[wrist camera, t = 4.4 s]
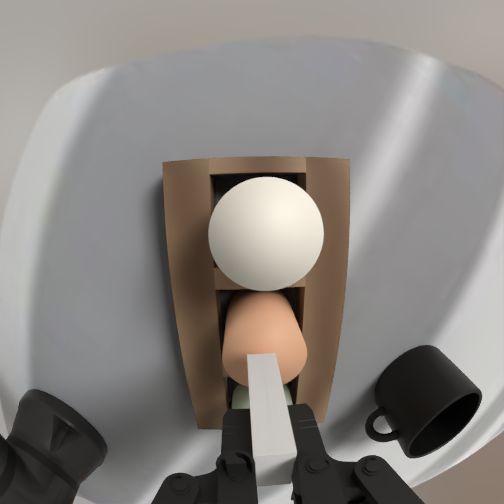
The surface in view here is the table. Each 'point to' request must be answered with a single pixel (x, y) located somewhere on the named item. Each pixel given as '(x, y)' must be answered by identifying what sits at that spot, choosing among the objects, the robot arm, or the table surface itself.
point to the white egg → (266, 233)
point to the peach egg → (262, 334)
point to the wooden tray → (213, 280)
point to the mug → (423, 401)
